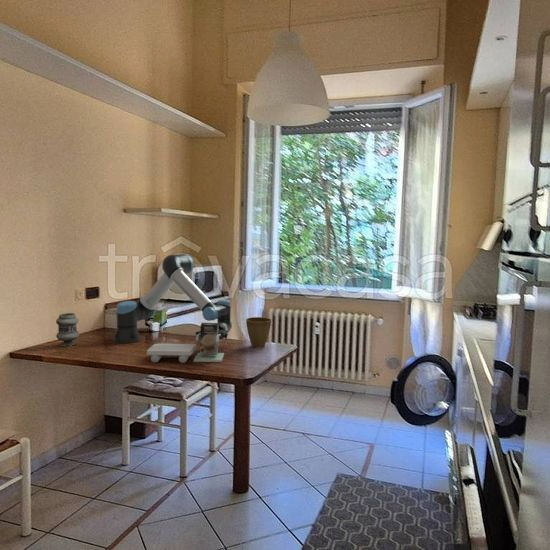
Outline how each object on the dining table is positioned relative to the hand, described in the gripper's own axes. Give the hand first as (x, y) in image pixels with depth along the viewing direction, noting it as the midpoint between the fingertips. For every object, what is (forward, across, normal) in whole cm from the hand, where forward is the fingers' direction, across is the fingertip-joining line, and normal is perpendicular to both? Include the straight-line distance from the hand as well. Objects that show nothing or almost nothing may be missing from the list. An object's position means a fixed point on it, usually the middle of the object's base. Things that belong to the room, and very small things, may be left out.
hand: (206, 338), depth 237 cm
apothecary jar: (-14, +88, -12) cm, 90 cm away
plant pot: (-36, -20, -12) cm, 43 cm away
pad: (-4, 0, -11) cm, 12 cm away
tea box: (-68, +57, -12) cm, 90 cm away
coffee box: (-4, 0, -9) cm, 10 cm away
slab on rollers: (+1, +18, -11) cm, 22 cm away
